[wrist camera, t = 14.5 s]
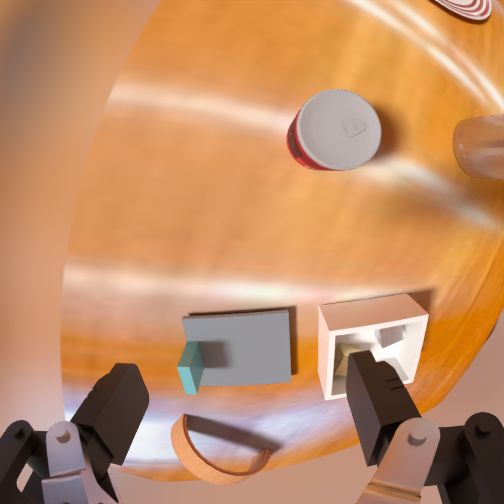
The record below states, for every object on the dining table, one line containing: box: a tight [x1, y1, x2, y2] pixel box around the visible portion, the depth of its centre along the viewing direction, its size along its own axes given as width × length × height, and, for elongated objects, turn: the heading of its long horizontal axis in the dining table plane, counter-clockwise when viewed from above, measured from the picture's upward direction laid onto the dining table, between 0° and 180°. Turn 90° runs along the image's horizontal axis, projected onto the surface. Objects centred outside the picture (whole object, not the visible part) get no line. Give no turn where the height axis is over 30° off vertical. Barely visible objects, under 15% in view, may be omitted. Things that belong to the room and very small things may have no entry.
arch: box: [171, 414, 271, 485], centre depth 43 cm, size 6×20×10 cm, turn 56°
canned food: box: [287, 89, 382, 171], centre depth 28 cm, size 8×8×11 cm
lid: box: [177, 310, 291, 394], centre depth 38 cm, size 15×13×8 cm
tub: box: [318, 293, 429, 400], centre depth 37 cm, size 14×12×7 cm
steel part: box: [374, 325, 404, 349], centre depth 37 cm, size 4×4×4 cm
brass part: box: [333, 343, 361, 376], centre depth 38 cm, size 4×4×4 cm
